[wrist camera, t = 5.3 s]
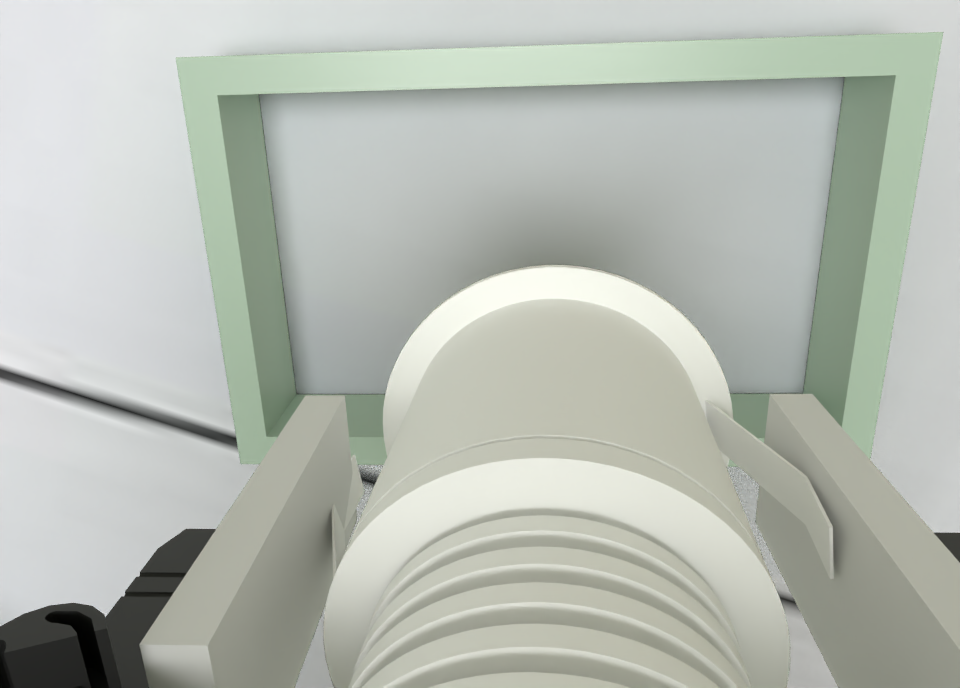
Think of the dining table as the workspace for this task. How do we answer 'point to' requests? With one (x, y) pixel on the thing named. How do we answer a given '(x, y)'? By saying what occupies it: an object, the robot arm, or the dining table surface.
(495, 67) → the bin
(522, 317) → the downlight
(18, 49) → the dining table surface
